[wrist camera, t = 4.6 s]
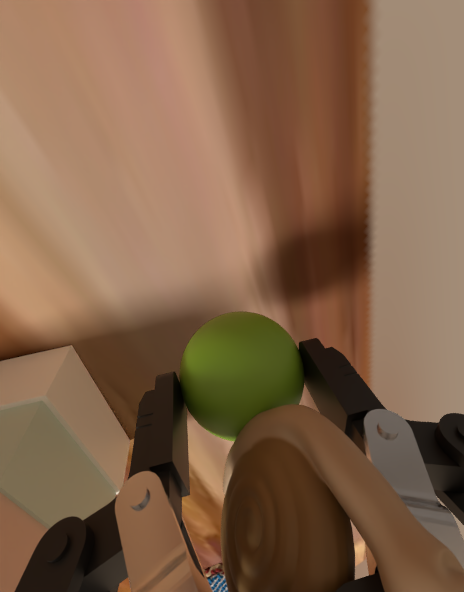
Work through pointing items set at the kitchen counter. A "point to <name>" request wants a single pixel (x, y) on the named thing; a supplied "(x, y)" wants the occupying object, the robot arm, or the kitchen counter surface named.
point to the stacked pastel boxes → (52, 452)
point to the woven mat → (216, 578)
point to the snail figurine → (296, 474)
